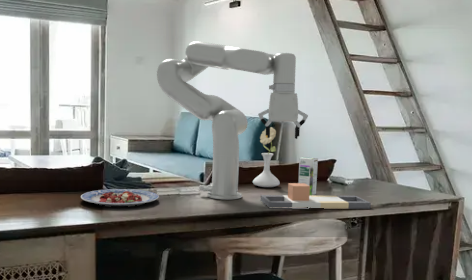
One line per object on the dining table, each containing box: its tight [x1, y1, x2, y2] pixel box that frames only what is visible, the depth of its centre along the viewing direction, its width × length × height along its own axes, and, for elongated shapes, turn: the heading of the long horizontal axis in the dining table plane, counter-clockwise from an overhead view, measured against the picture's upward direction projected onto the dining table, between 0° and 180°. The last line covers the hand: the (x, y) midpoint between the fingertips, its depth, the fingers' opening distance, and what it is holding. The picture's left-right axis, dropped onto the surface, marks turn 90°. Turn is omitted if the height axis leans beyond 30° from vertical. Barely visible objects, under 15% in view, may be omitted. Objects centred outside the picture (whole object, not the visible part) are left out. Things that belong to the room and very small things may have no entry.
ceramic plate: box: [80, 188, 160, 207], centre depth 178 cm, size 26×26×3 cm
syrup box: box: [297, 156, 319, 195], centre depth 204 cm, size 6×6×14 cm
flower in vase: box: [252, 126, 280, 188], centre depth 218 cm, size 13×11×25 cm
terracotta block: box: [287, 182, 310, 201], centre depth 184 cm, size 6×6×5 cm
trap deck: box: [260, 194, 372, 210], centre depth 185 cm, size 36×13×2 cm, turn 100°
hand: (282, 138), depth 185 cm, fingers open, 9 cm apart
